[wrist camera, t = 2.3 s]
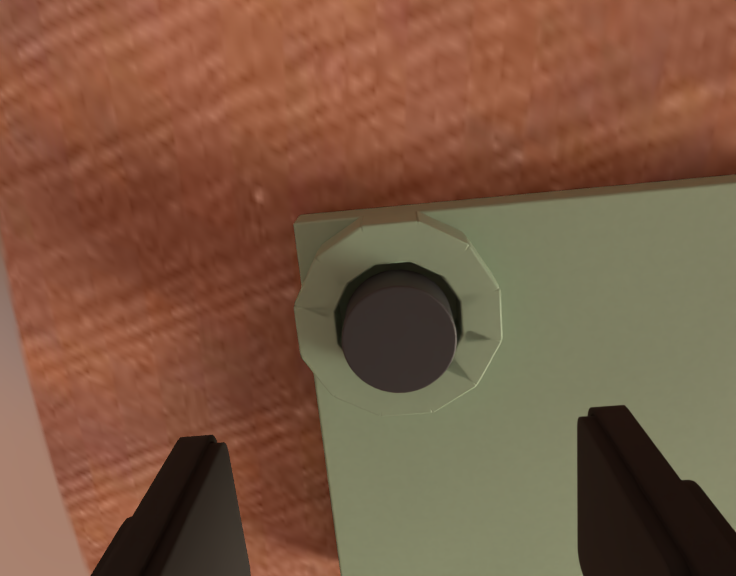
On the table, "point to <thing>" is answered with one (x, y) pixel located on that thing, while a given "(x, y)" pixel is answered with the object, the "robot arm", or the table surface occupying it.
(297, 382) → the table surface
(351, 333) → the tare button
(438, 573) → the scale
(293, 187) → the table surface
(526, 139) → the table surface
